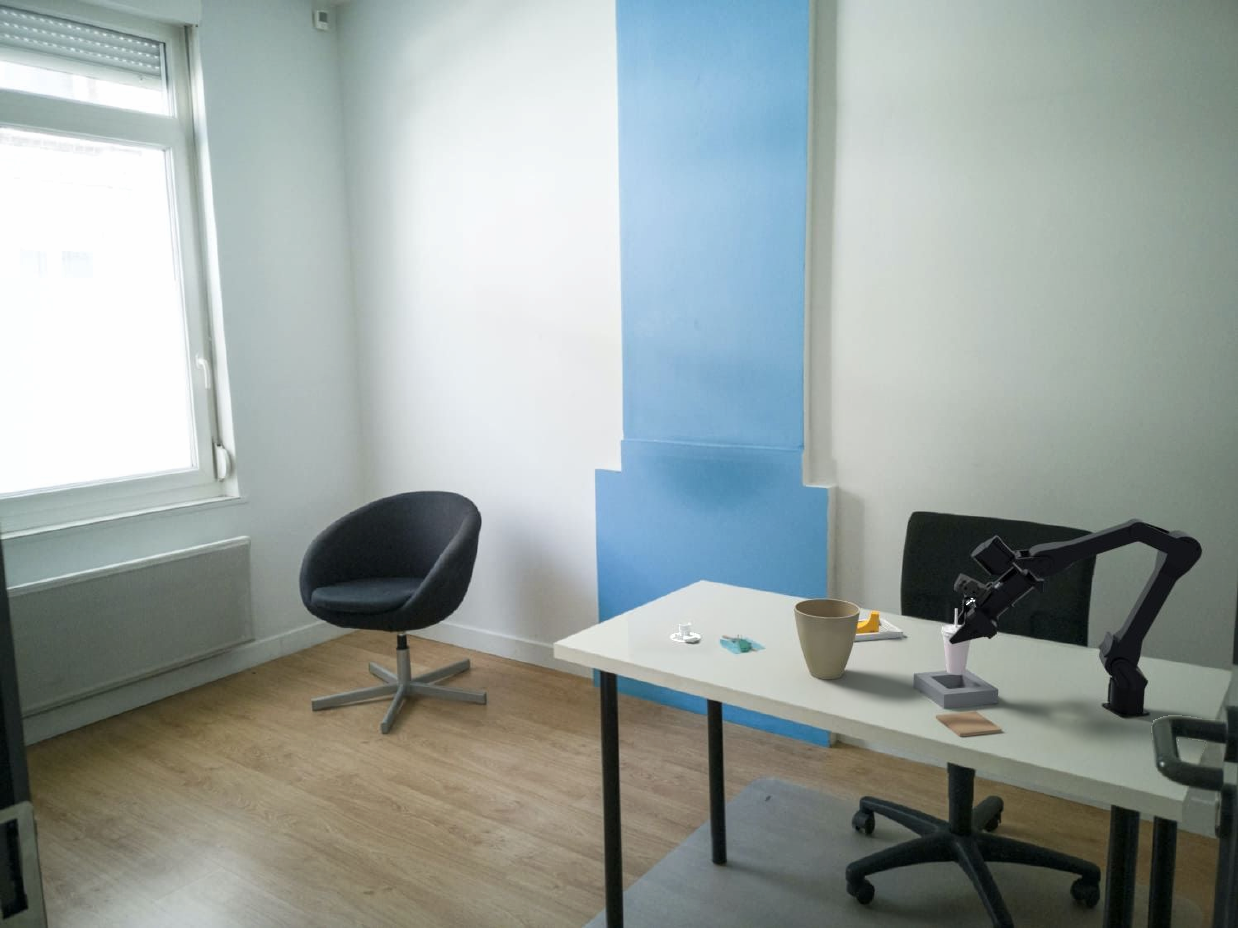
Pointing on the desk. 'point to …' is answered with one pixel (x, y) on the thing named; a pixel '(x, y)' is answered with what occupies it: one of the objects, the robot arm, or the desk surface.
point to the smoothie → (955, 649)
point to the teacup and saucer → (686, 633)
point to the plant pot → (826, 634)
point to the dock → (968, 695)
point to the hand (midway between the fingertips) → (950, 637)
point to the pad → (968, 723)
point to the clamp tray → (892, 632)
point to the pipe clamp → (869, 624)
